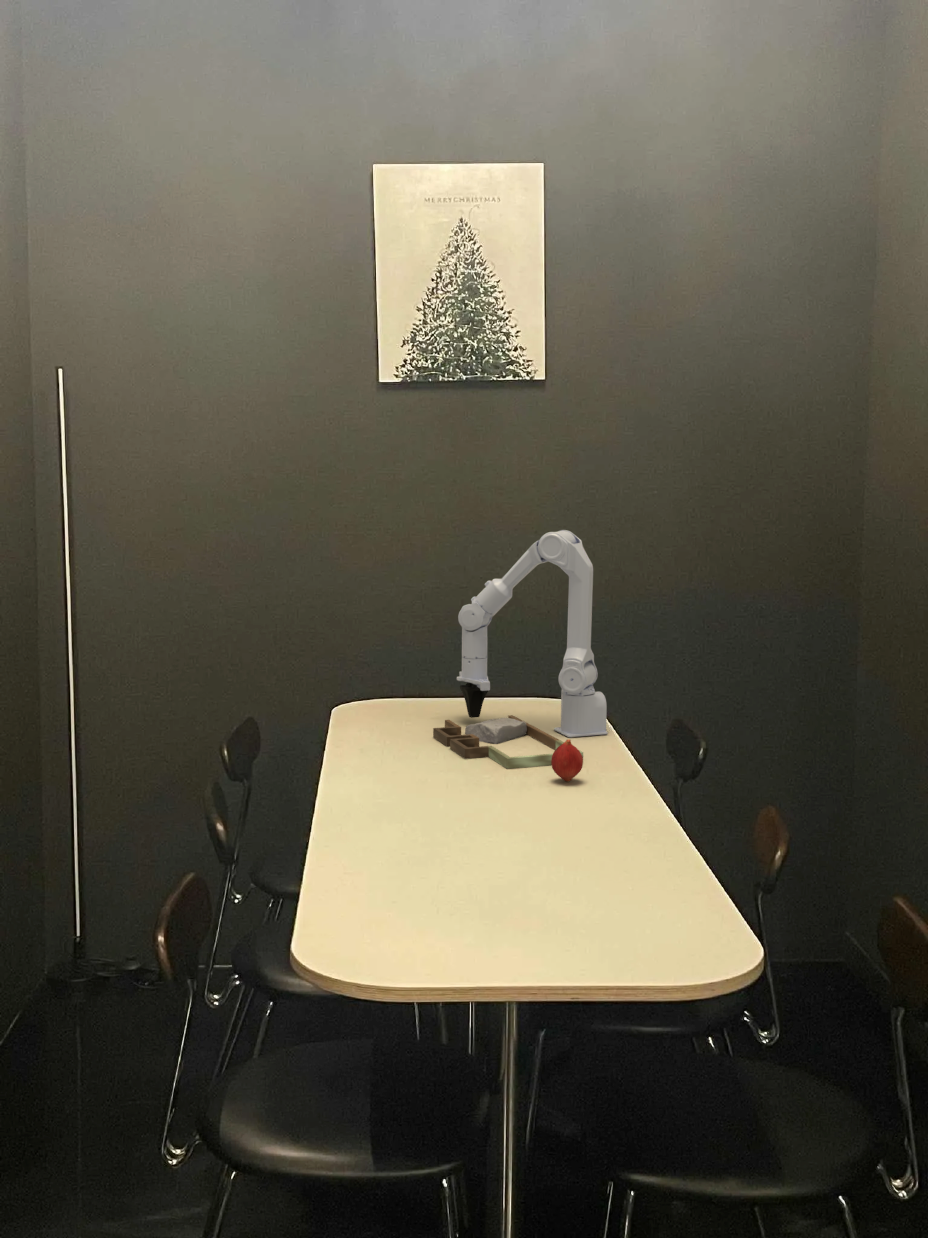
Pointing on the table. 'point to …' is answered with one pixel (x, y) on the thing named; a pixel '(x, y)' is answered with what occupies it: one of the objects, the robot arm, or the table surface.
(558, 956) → the table surface
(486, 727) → the stone block
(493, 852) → the table surface
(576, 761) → the onion
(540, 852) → the table surface
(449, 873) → the table surface
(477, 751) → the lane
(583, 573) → the robot arm
